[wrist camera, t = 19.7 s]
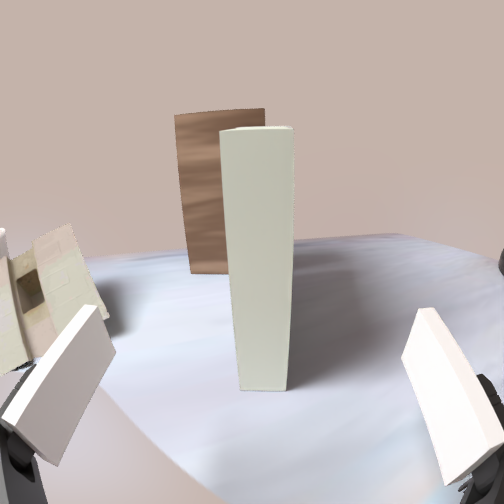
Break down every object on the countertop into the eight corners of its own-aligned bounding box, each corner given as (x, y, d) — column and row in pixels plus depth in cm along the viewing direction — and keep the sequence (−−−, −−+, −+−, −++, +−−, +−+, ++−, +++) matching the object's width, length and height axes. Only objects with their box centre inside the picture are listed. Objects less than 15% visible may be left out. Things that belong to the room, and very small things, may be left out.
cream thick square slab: (294, 391, 20) (307, 129, 13) (231, 389, 21) (205, 132, 13) (287, 280, 35) (288, 126, 28) (248, 280, 36) (241, 127, 28)
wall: (126, 331, 33) (82, 236, 36) (114, 316, 25) (67, 201, 29) (27, 382, 26) (-5, 284, 29) (-5, 379, 18) (-35, 260, 21)
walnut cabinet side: (276, 295, 32) (273, 105, 24) (181, 293, 33) (158, 114, 25) (275, 268, 38) (273, 108, 30) (193, 267, 39) (178, 115, 31)
